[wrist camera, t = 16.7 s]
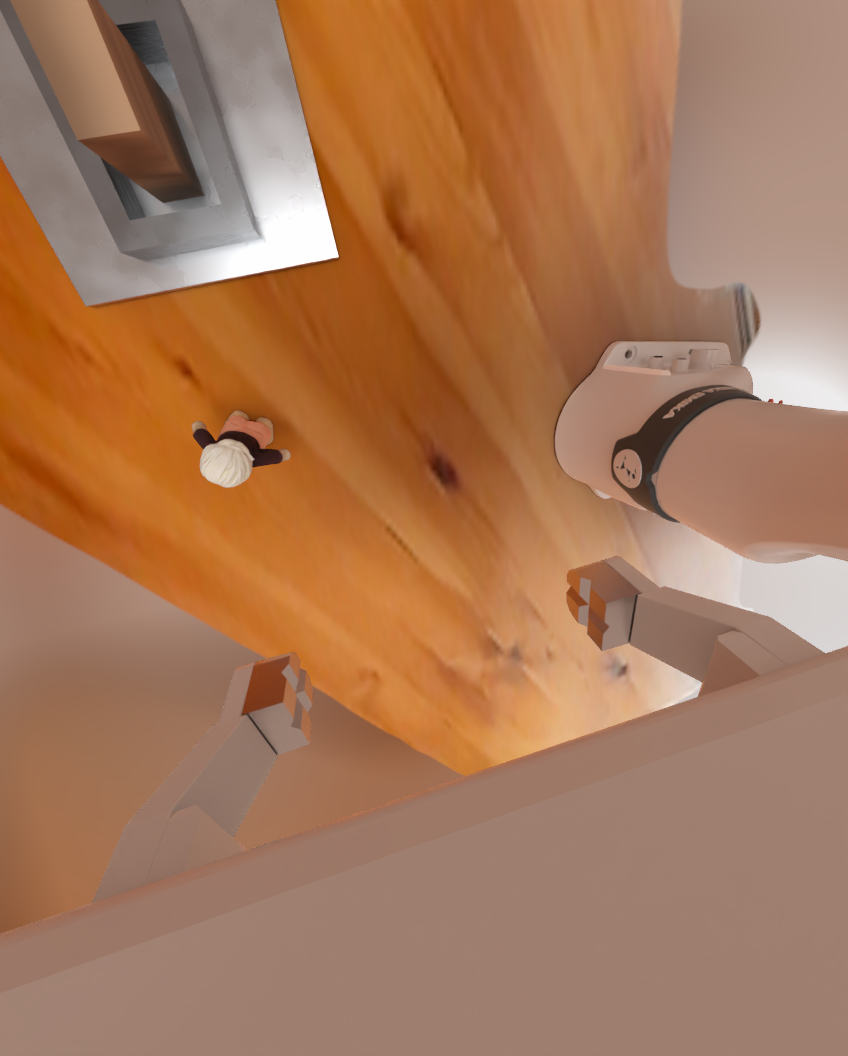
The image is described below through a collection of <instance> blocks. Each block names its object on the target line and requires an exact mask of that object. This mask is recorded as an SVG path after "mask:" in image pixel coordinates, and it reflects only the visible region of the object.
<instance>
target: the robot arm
mask: <svg viewBox="0 0 848 1056" xmlns="http://www.w3.org/2000/svg"><path fill="white" fill-rule="evenodd" d="M627 351H628V354H627V356H626V357H625V353H626V352H627ZM752 393H753V382H752V377H751V375H750V372H749V371H748V369H747V368H745V367H742V366H734V365H732V362H731V355H730V351H729V348H728V345H727V344H726V343H722V342H712V341H616V342H613V343H612V344H610V345H609V346H608V348H607V349H606V350H605V352H604V354H603V355H602V357H601V359H600V361H599V362H598V364H597V366H596V368H595V370H594V371H593V372H592V373H591V374H590V375H589V376H588V377H587V378H586V379H585V380H584V381H583V382H582V383H581V384H580V385H579V386H578V387H577V388H576V390H575V391H574V392H573V393H572V395H571V396H570V398H569V399H568V401H567V402H566V404H565V406H564V408H563V410H562V412H561V415H560V417H559V420H558V424H557V428H556V433H555V450H556V455H557V459H558V461H559V464H560V465H561V467H562V469H563V470H564V471H565V472H566V473H567V474H568V475H569V476H570V477H571V478H573V479H575V480H577V481H579V482H582V483H585V484H587V485H588V486H589V487H590V488H591V490H592V491H593V492H594V494H595V495H597V496H598V497H600V498H603V499H608V498H611V497H613V498H615V499H618V500H620V501H622V502H624V503H627V504H629V505H631V506H633V507H636V508H638V509H641V510H648V511H649V512H650V513H652V514H654V515H656V516H658V517H662V518H664V519H667V520H669V521H672V522H679V523H683V524H685V525H686V526H688V527H690V528H692V529H694V530H695V531H697V532H699V533H701V534H703V535H704V536H706V537H708V538H710V539H712V540H713V541H715V542H717V543H719V544H721V545H722V546H724V547H726V548H728V549H730V550H731V551H733V552H735V553H737V554H739V555H740V556H742V557H744V558H747V559H750V560H753V561H757V562H763V563H787V562H792V561H797V560H802V559H806V558H809V557H813V556H816V555H823V556H828V557H833V558H836V559H840V560H844V561H848V412H845V411H835V410H825V409H816V408H807V407H800V406H792V405H784V404H782V402H783V401H782V400H781V401H779V403H773V399H769V401H768V402H764V401H762V400H761V399H759V398H758V397H756V396H754V395H752ZM567 582H568V583H569V584H570V585H571V587H570V588H569V590H568V591H567V604H568V607H569V610H570V612H571V614H572V615H573V617H574V618H575V619H576V621H577V622H578V623H580V624H582V625H585V626H587V627H588V628H587V634H588V635H589V636H590V638H591V639H592V640H593V641H594V642H595V644H596V645H597V646H598V647H599V648H600V650H601V651H603V650H607V649H610V648H614V647H617V646H621V645H624V644H628V643H630V645H632V646H634V647H636V648H638V649H639V650H641V651H643V652H645V653H647V654H649V655H651V656H653V657H655V658H657V659H659V660H660V661H662V662H664V663H666V664H668V665H670V666H672V667H674V668H676V669H678V670H680V671H682V672H683V673H685V674H687V675H689V676H691V677H693V678H695V679H697V680H699V681H701V682H702V685H701V688H700V692H699V694H698V697H697V698H694V699H691V700H688V701H685V702H682V703H679V704H676V705H673V706H670V707H667V708H664V709H661V710H658V711H655V712H652V713H649V714H647V715H644V716H641V717H638V718H635V719H632V720H629V721H626V722H623V723H620V724H617V725H614V726H611V727H608V728H605V729H602V730H599V731H597V732H594V733H591V734H588V735H585V736H582V737H579V738H576V739H573V740H570V741H567V742H564V743H561V744H558V745H555V746H552V747H549V748H547V749H544V750H541V751H538V752H535V753H532V754H529V755H526V756H523V757H520V758H517V759H514V760H511V761H508V762H505V763H502V764H500V765H497V766H494V767H491V768H488V769H485V770H482V771H479V772H476V773H473V774H470V775H467V776H464V777H462V778H459V779H456V780H453V781H450V782H447V783H444V784H441V785H438V786H435V787H432V788H429V789H426V790H424V791H421V792H418V793H415V794H412V795H409V796H406V797H403V798H400V799H397V800H394V801H391V802H388V803H385V804H383V805H380V806H376V807H373V808H370V809H367V810H365V811H362V812H359V813H356V814H353V815H350V816H347V817H344V818H341V819H338V820H335V821H332V822H329V823H326V824H323V825H321V826H317V827H315V828H312V829H309V830H306V831H303V832H300V833H297V834H294V835H291V836H288V837H285V838H282V839H279V840H277V841H273V842H270V843H267V844H264V845H262V846H259V847H256V848H253V849H250V850H246V849H245V848H244V847H243V846H242V845H241V844H240V843H239V842H238V841H237V840H235V839H234V838H233V837H234V836H235V833H236V832H237V830H238V828H239V827H240V825H241V823H242V821H243V819H244V817H245V816H246V814H247V812H248V810H249V808H250V807H251V805H252V803H253V801H254V799H255V798H256V796H257V794H258V792H259V790H260V789H261V786H262V785H263V783H264V781H265V780H266V778H267V776H268V774H269V772H270V770H271V769H272V767H273V765H274V763H275V761H276V760H277V755H279V754H282V753H285V752H288V751H291V750H294V749H297V748H299V747H302V746H305V745H308V744H310V733H311V718H310V717H309V715H308V713H307V712H308V711H309V709H310V708H311V706H312V703H313V702H312V701H313V692H312V684H311V681H310V678H309V676H308V674H307V672H306V671H305V670H303V669H301V668H300V659H299V657H298V656H297V654H296V653H295V652H291V653H287V654H283V655H279V656H276V657H272V658H268V659H264V660H261V661H257V662H255V663H251V664H247V665H244V666H240V667H238V668H237V669H236V670H235V672H234V674H233V677H232V681H231V684H230V687H229V690H228V694H227V697H226V700H225V703H224V707H223V710H222V713H221V717H220V720H219V723H217V724H214V725H212V726H211V727H210V729H209V730H208V731H207V732H206V733H205V734H204V736H203V737H202V738H201V739H200V740H199V741H198V742H197V744H196V745H195V746H194V747H193V748H192V749H191V750H190V752H189V753H188V754H187V755H186V756H185V757H184V759H183V760H182V761H181V762H180V763H179V764H178V765H177V767H176V768H175V769H174V770H173V771H172V772H171V774H170V775H169V776H168V777H167V778H166V779H165V780H164V782H163V783H162V784H161V785H160V786H159V787H158V789H157V790H156V791H155V792H154V793H153V794H152V795H151V797H150V798H149V799H148V800H147V801H146V802H145V804H144V805H143V806H142V807H141V808H140V809H139V810H138V812H137V813H136V814H135V815H134V816H133V817H132V819H131V820H130V821H129V822H128V823H127V824H126V826H125V827H124V830H123V832H122V835H121V837H120V839H119V841H118V844H117V846H116V848H115V851H114V853H113V855H112V858H111V860H110V862H109V865H108V867H107V869H106V871H105V874H104V876H103V878H102V881H101V883H100V885H99V887H98V890H97V892H96V894H95V897H94V899H93V901H92V903H91V904H88V905H85V906H82V907H79V908H76V909H73V910H70V911H67V912H64V913H61V914H58V915H55V916H52V917H49V918H47V919H44V920H40V921H38V922H34V923H32V924H29V925H26V926H23V927H20V928H17V929H14V930H11V931H8V932H5V933H2V934H0V1056H848V646H846V647H844V648H841V649H838V650H835V651H832V652H829V653H826V654H825V653H824V652H822V651H821V650H819V649H818V648H816V647H815V646H813V645H812V644H810V643H809V642H807V641H806V640H804V639H802V638H801V637H799V636H798V635H797V634H795V633H794V632H792V631H791V630H789V629H787V628H786V627H784V626H783V625H781V624H780V623H778V622H777V621H775V620H774V619H772V618H771V617H768V616H764V615H761V614H757V613H754V612H751V611H747V610H744V609H740V608H737V607H733V606H730V605H727V604H723V603H720V602H716V601H713V600H709V599H706V598H703V597H699V596H696V595H692V594H689V593H685V592H682V591H679V590H675V589H672V588H668V587H662V588H659V587H658V586H657V585H656V584H654V583H653V582H652V581H651V580H649V579H648V578H647V577H645V576H644V575H643V574H642V573H640V572H639V571H638V570H637V569H635V568H634V567H633V566H631V565H630V564H629V563H628V562H626V561H625V560H624V559H622V558H621V557H618V556H614V557H611V558H608V559H605V560H602V561H600V562H595V563H592V564H589V565H586V566H582V567H579V568H576V569H572V570H569V572H568V574H567Z"/></svg>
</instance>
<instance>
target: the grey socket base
mask: <svg viewBox="0 0 848 1056" xmlns="http://www.w3.org/2000/svg"><path fill="white" fill-rule="evenodd" d="M98 1H99V3H100V4H101V5H102V7H103V8H104V10H105V11H106V12H107V14H108V15H109V16H110V18H111V19H112V21H113V22H114V23H115V25H116V26H117V28H118V29H119V30H120V32H121V33H122V34H123V36H124V37H125V39H126V40H127V41H128V43H129V44H130V45H131V47H132V48H133V50H134V51H135V52H136V54H137V55H138V57H139V58H140V59H141V61H142V62H143V63H144V65H145V66H146V68H147V69H148V70H149V72H150V73H151V75H152V76H153V77H154V79H155V80H156V81H157V83H158V84H159V86H160V87H161V88H162V90H163V91H164V92H165V94H166V95H167V97H168V99H169V101H170V104H171V107H172V109H173V112H174V115H175V117H176V120H177V123H178V125H179V128H180V131H181V133H182V136H183V139H184V141H185V144H186V147H187V149H188V152H189V155H190V157H191V160H192V163H193V165H194V168H195V171H196V174H197V176H198V179H199V182H200V184H201V187H202V190H203V192H204V195H205V196H201V197H196V198H190V199H184V200H178V201H173V202H167V203H162V202H161V201H159V200H158V199H157V198H155V197H154V196H153V195H151V194H150V193H149V192H147V191H146V190H144V189H143V188H142V187H140V186H139V185H138V184H136V183H135V182H134V181H132V180H131V179H130V178H128V177H127V176H125V175H124V174H123V173H121V172H120V171H119V170H117V169H116V168H115V167H113V166H112V165H111V164H109V163H108V162H107V161H105V160H104V159H102V158H101V157H100V156H98V155H97V154H96V153H94V152H93V151H92V150H90V149H89V148H88V147H86V146H85V145H83V144H82V143H81V142H79V141H78V140H77V138H76V136H75V134H74V132H73V130H72V128H71V126H70V124H69V122H68V119H67V117H66V115H65V113H64V111H63V109H62V107H61V105H60V103H59V101H58V99H57V97H56V95H55V92H54V90H53V88H52V86H51V84H50V82H49V80H48V78H47V76H46V74H45V72H44V70H43V68H42V65H41V63H40V61H39V59H38V57H37V55H36V53H35V51H34V49H33V47H32V45H31V43H30V41H29V38H28V36H27V34H26V32H25V30H24V28H23V26H22V24H21V22H20V20H19V18H18V16H17V14H16V11H15V9H14V7H13V5H12V3H11V1H10V0H0V156H1V158H2V160H3V161H4V163H5V165H6V167H7V169H8V170H9V172H10V174H11V176H12V177H13V179H14V181H15V183H16V184H17V186H18V188H19V190H20V191H21V193H22V195H23V197H24V198H25V200H26V202H27V204H28V205H29V207H30V209H31V211H32V212H33V214H34V216H35V218H36V220H37V221H38V223H39V225H40V227H41V228H42V230H43V232H44V234H45V235H46V237H47V239H48V241H49V242H50V244H51V246H52V248H53V249H54V251H55V253H56V255H57V256H58V258H59V260H60V262H61V263H62V265H63V267H64V269H65V271H66V272H67V274H68V276H69V278H70V279H71V281H72V283H73V285H74V286H75V288H76V290H77V292H78V293H79V295H80V297H81V299H82V300H83V302H84V304H85V306H88V307H98V306H103V305H109V304H114V303H119V302H124V301H129V300H134V299H139V298H144V297H149V296H154V295H159V294H165V293H170V292H175V291H180V290H185V289H190V288H195V287H200V286H205V285H210V284H216V283H221V282H226V281H231V280H236V279H241V278H246V277H251V276H256V275H261V274H267V273H272V272H277V271H282V270H287V269H292V268H297V267H302V266H307V265H312V264H317V263H323V262H328V261H333V260H338V253H337V249H336V245H335V241H334V237H333V233H332V229H331V224H330V220H329V216H328V212H327V208H326V204H325V200H324V196H323V192H322V188H321V184H320V180H319V176H318V172H317V168H316V164H315V159H314V155H313V151H312V147H311V143H310V139H309V135H308V131H307V127H306V123H305V119H304V115H303V111H302V107H301V103H300V98H299V94H298V90H297V86H296V82H295V78H294V74H293V70H292V66H291V62H290V58H289V54H288V50H287V46H286V42H285V37H284V33H283V29H282V25H281V21H280V17H279V13H278V9H277V5H276V1H275V0H98Z"/></svg>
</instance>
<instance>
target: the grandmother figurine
mask: <svg viewBox="0 0 848 1056" xmlns="http://www.w3.org/2000/svg"><path fill="white" fill-rule="evenodd" d="M192 430H193V433H194V434H193V437H194V439H195V440H196V441H197V442H198V444H199V445H200V446H201V447H202V448H203V453H202V456H201V459H200V470H201V473H202V475H203V476H205V477H206V479H207V480H208V481H210V482H212V483H215V484H218V485H220V486H223V487H226V488H228V487H234V486H237V485H239V484H241V483H242V482H244V481H246V480H247V479H248V478H249V476H250V474H251V472H252V467H257V466H264V465H270V464H278V463H280V462H282V461H286V460H289V459H290V457H291V454H290V452H289V451H288V450H287V449H281V450H274V449H264V448H265V447H266V445H269V444H270V443H272V441H273V437H274V436H273V424H272V422H271V421H270V420H269V419H267V418H263V417H260V418H258V419H257V420H256V422H253V421H249V417H248V415H247V414H245V413H244V412H242V411H239V410H237V411H234V412H233V413H232V414H231V415H230V417H229V418H228V419H227V421H226V422H225V424H224V427H223V429H222V430H221V432H220V434H219V437H218V440H217V441H215V440H214V438H213V437H212V435H211V434H210V433H209V432H208V430H207V429H206V425H205V424H204V423H203V422H201V421H196V422H194V423H193V424H192Z"/></svg>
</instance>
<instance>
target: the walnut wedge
mask: <svg viewBox="0 0 848 1056" xmlns="http://www.w3.org/2000/svg"><path fill="white" fill-rule="evenodd" d="M10 1H11V3H12V5H13V7H14V9H15V11H16V14H17V16H18V18H19V20H20V22H21V24H22V26H23V28H24V30H25V32H26V34H27V36H28V38H29V41H30V43H31V45H32V47H33V49H34V51H35V53H36V55H37V57H38V59H39V61H40V63H41V65H42V68H43V70H44V72H45V74H46V76H47V78H48V80H49V82H50V84H51V86H52V88H53V90H54V92H55V95H56V97H57V99H58V101H59V103H60V105H61V107H62V109H63V111H64V113H65V115H66V117H67V119H68V122H69V124H70V126H71V128H72V130H73V132H74V134H75V136H76V138H77V140H78V141H79V142H81V143H82V144H83V145H85V146H86V147H88V148H89V149H90V150H92V151H93V152H94V153H96V154H97V155H98V156H100V157H101V158H102V159H104V160H105V161H107V162H108V163H109V164H111V165H112V166H113V167H115V168H116V169H117V170H119V171H120V172H121V173H123V174H124V175H125V176H127V177H128V178H130V179H131V180H132V181H134V182H135V183H136V184H138V185H139V186H140V187H142V188H143V189H144V190H146V191H147V192H149V193H150V194H151V195H153V196H154V197H155V198H157V199H158V200H159V201H161V202H162V203H167V202H173V201H178V200H184V199H190V198H196V197H201V196H205V195H204V192H203V190H202V187H201V184H200V182H199V179H198V176H197V174H196V171H195V168H194V165H193V163H192V160H191V157H190V155H189V152H188V149H187V147H186V144H185V141H184V139H183V136H182V133H181V131H180V128H179V125H178V123H177V120H176V117H175V115H174V112H173V109H172V107H171V104H170V101H169V99H168V97H167V95H166V94H165V92H164V91H163V90H162V88H161V87H160V86H159V84H158V83H157V81H156V80H155V79H154V77H153V76H152V75H151V73H150V72H149V70H148V69H147V68H146V66H145V65H144V63H143V62H142V61H141V59H140V58H139V57H138V55H137V54H136V52H135V51H134V50H133V48H132V47H131V45H130V44H129V43H128V41H127V40H126V39H125V37H124V36H123V34H122V33H121V32H120V30H119V29H118V28H117V26H116V25H115V23H114V22H113V21H112V19H111V18H110V16H109V15H108V14H107V12H106V11H105V10H104V8H103V7H102V5H101V4H100V3H99V1H98V0H10Z"/></svg>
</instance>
